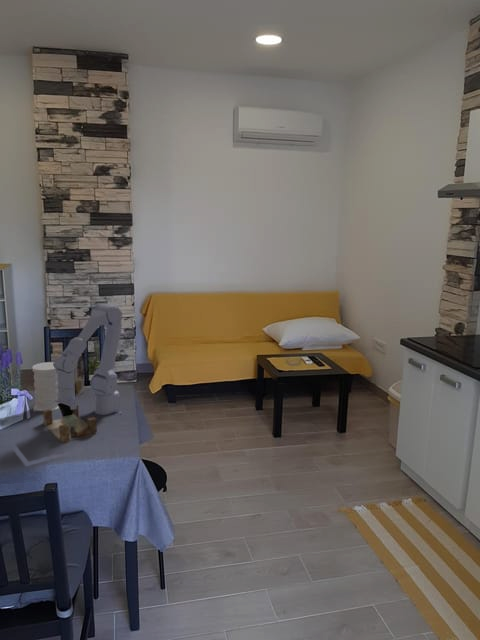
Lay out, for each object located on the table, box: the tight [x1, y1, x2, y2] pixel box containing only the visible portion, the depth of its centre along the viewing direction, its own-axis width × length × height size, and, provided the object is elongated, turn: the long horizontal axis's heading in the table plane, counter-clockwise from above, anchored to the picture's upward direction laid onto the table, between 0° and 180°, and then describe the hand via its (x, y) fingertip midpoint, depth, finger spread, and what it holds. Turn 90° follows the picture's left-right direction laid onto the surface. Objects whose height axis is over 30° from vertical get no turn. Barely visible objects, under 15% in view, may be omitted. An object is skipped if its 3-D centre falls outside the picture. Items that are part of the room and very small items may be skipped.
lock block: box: [62, 414, 78, 430], centre depth 182 cm, size 4×4×4 cm
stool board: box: [42, 404, 98, 443], centre depth 181 cm, size 13×20×6 cm, turn 39°
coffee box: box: [74, 356, 85, 399], centre depth 217 cm, size 9×6×16 cm
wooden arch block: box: [75, 416, 98, 437], centre depth 176 cm, size 7×2×5 cm, turn 129°
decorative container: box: [31, 361, 60, 412], centre depth 200 cm, size 12×12×18 cm
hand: (67, 421), depth 185 cm, fingers closed
